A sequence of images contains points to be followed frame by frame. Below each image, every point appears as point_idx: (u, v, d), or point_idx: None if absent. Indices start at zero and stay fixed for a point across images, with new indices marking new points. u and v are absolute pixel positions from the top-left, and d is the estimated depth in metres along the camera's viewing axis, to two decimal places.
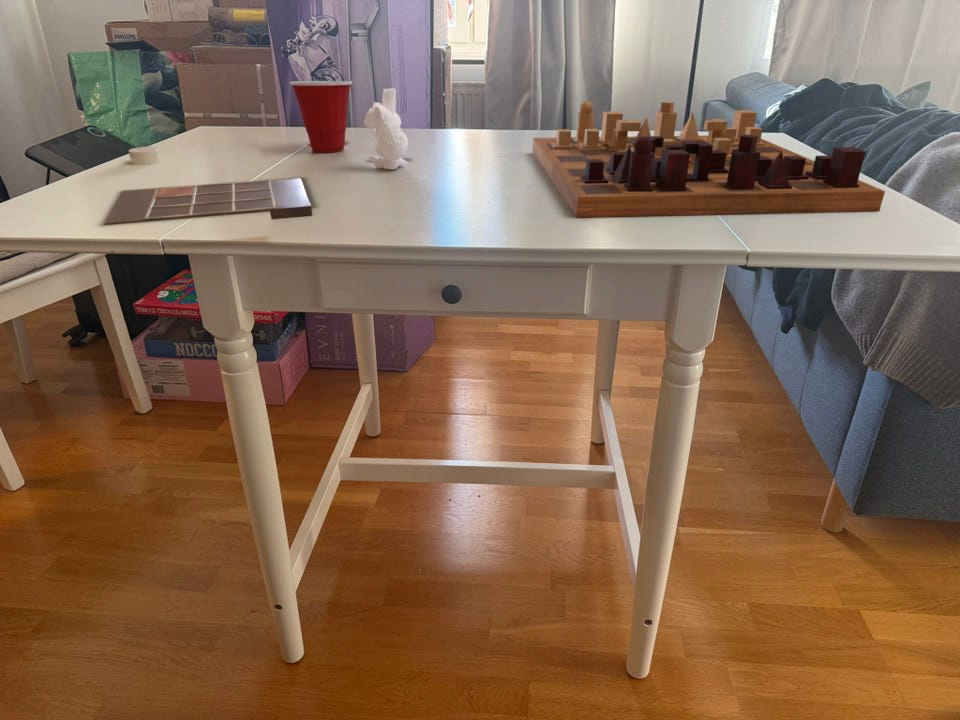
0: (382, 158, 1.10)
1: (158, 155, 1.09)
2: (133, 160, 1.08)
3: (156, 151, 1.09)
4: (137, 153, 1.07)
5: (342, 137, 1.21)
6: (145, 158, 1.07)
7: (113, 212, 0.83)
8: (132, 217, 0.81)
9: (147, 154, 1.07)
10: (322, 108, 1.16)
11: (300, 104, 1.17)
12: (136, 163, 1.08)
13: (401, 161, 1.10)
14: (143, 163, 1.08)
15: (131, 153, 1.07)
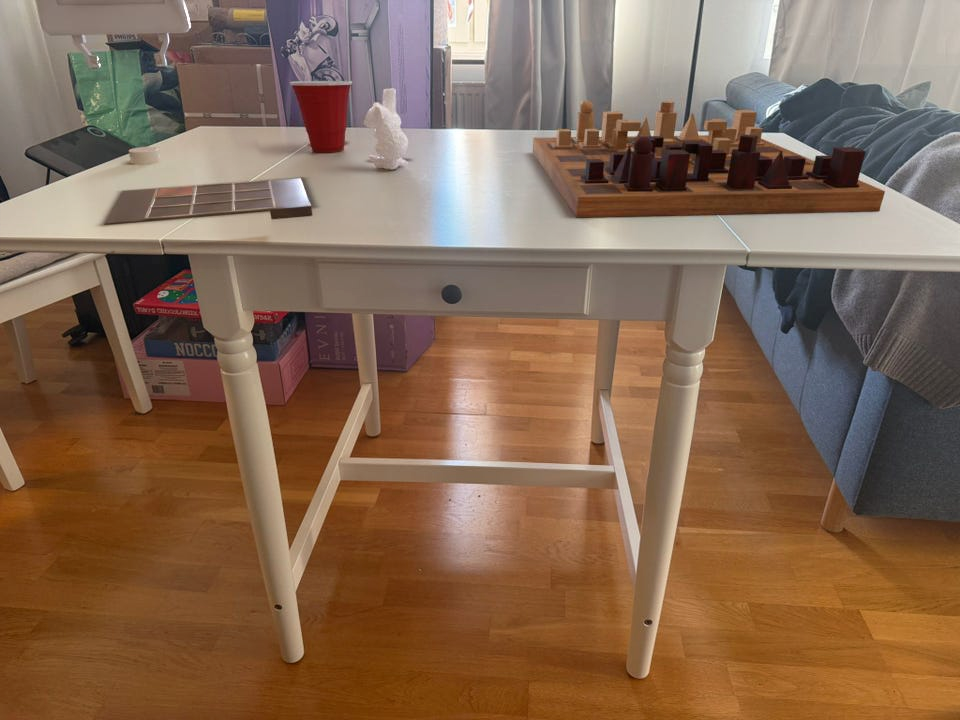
0: (382, 158, 1.10)
1: (158, 155, 1.09)
2: (133, 160, 1.08)
3: (156, 151, 1.09)
4: (137, 153, 1.07)
5: (342, 137, 1.21)
6: (145, 158, 1.07)
7: (113, 212, 0.83)
8: (132, 217, 0.81)
9: (147, 154, 1.07)
10: (322, 108, 1.16)
11: (300, 104, 1.17)
12: (136, 163, 1.08)
13: (401, 161, 1.10)
14: (143, 163, 1.08)
15: (131, 153, 1.07)
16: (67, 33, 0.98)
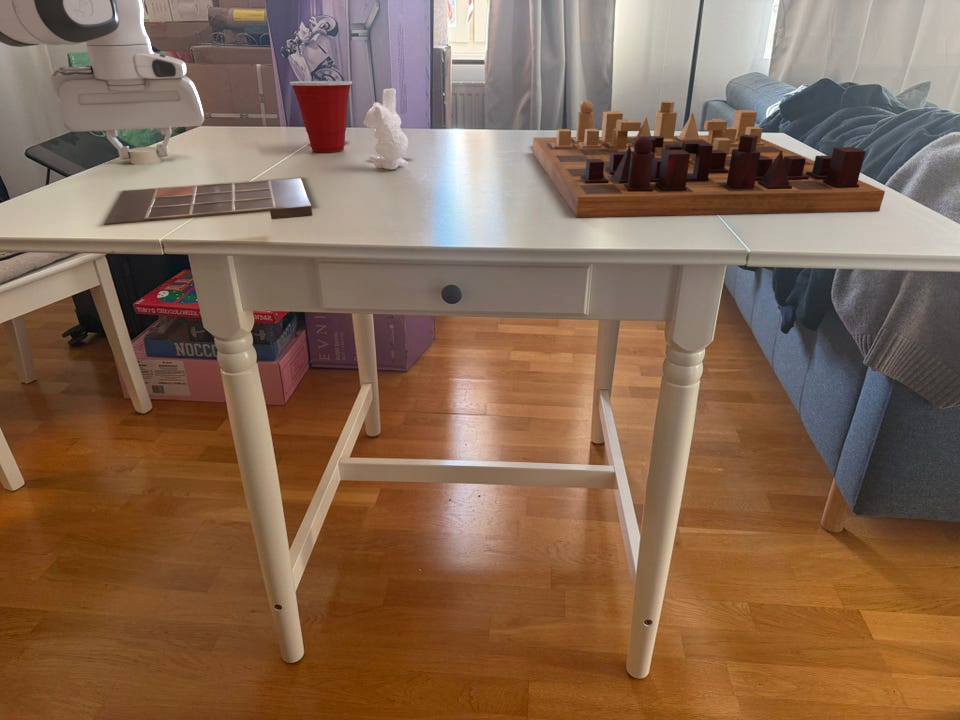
0: (382, 158, 1.10)
1: None
2: (133, 160, 1.08)
3: (156, 151, 1.09)
4: (137, 153, 1.07)
5: (342, 137, 1.21)
6: (145, 158, 1.08)
7: (113, 212, 0.83)
8: (132, 217, 0.81)
9: (147, 154, 1.07)
10: (322, 108, 1.16)
11: (300, 104, 1.17)
12: (136, 163, 1.08)
13: (401, 161, 1.10)
14: (143, 163, 1.08)
15: (131, 153, 1.07)
16: (88, 130, 1.04)
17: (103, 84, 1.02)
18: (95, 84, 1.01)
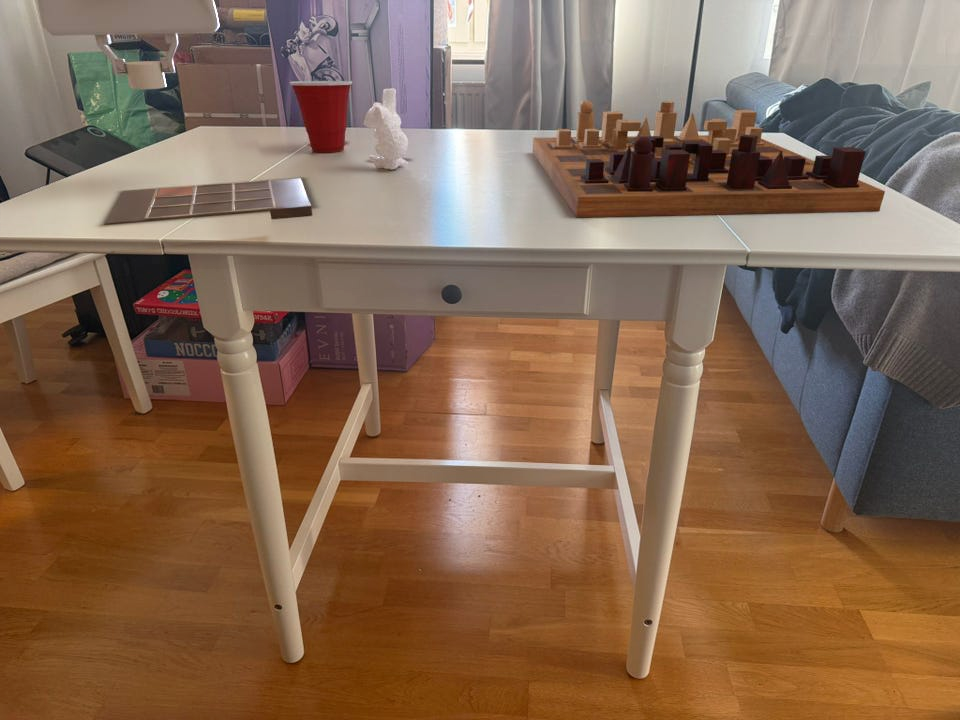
0: (382, 158, 1.10)
1: (161, 70, 0.88)
2: (130, 75, 0.86)
3: (159, 65, 0.87)
4: (135, 65, 0.85)
5: (342, 137, 1.21)
6: (145, 72, 0.86)
7: (113, 212, 0.83)
8: (132, 217, 0.81)
9: (148, 67, 0.86)
10: (322, 108, 1.16)
11: (300, 104, 1.17)
12: (134, 79, 0.86)
13: (401, 161, 1.10)
14: (143, 79, 0.86)
15: (128, 66, 0.86)
16: (73, 33, 0.82)
17: None
18: None
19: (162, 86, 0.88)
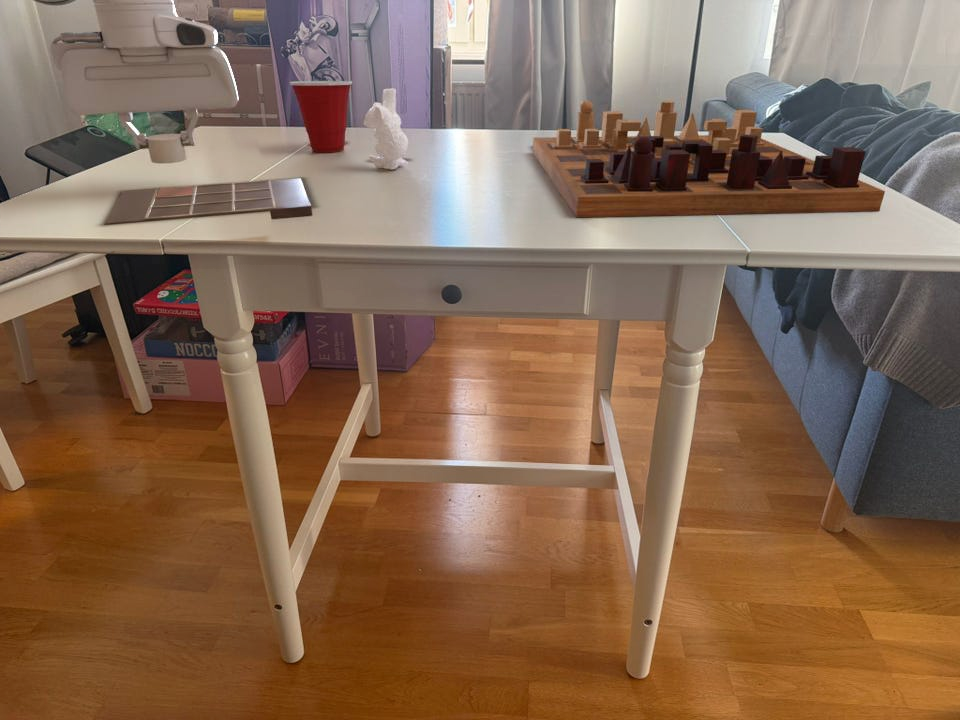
0: (382, 158, 1.10)
1: (182, 144, 0.89)
2: (152, 150, 0.88)
3: (180, 139, 0.88)
4: (157, 141, 0.87)
5: (342, 137, 1.21)
6: (166, 147, 0.87)
7: (113, 212, 0.83)
8: (132, 217, 0.81)
9: (169, 142, 0.87)
10: (322, 108, 1.16)
11: (300, 104, 1.17)
12: (155, 154, 0.88)
13: (401, 161, 1.10)
14: (164, 153, 0.87)
15: (149, 141, 0.87)
16: (97, 112, 0.83)
17: (115, 54, 0.81)
18: (105, 54, 0.81)
19: (182, 159, 0.89)
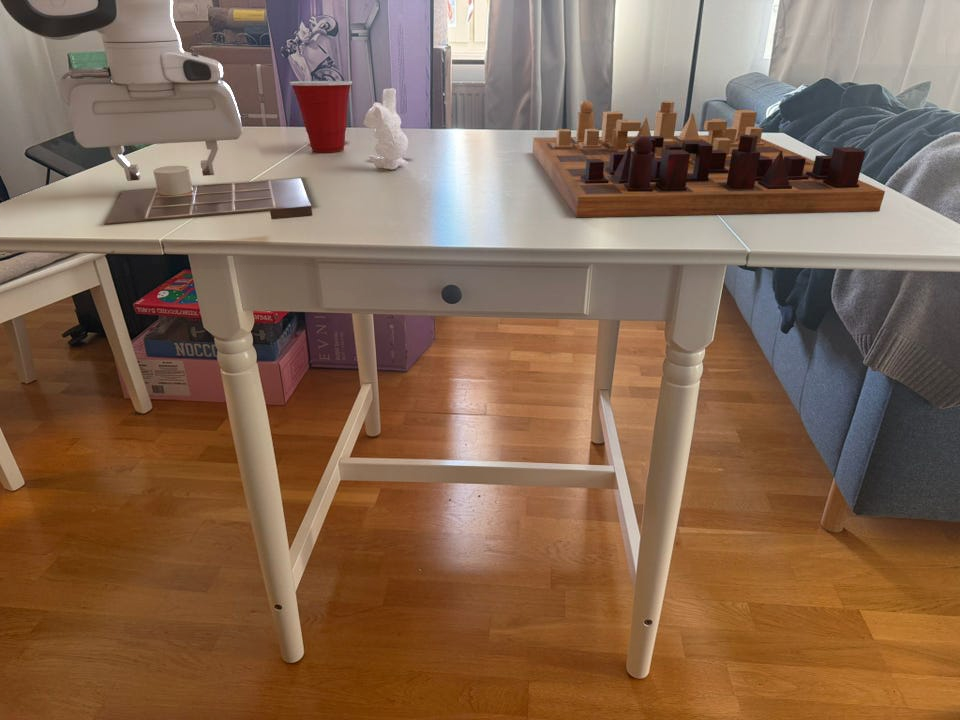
0: (382, 158, 1.10)
1: (188, 176, 0.91)
2: (159, 182, 0.90)
3: (187, 172, 0.90)
4: (164, 174, 0.89)
5: (342, 137, 1.21)
6: (173, 179, 0.89)
7: (113, 212, 0.83)
8: (132, 217, 0.81)
9: (176, 175, 0.89)
10: (322, 108, 1.16)
11: (300, 104, 1.17)
12: (162, 186, 0.90)
13: (401, 161, 1.10)
14: (171, 186, 0.89)
15: (156, 174, 0.89)
16: (104, 145, 0.85)
17: (123, 89, 0.83)
18: (113, 89, 0.83)
19: (189, 191, 0.91)
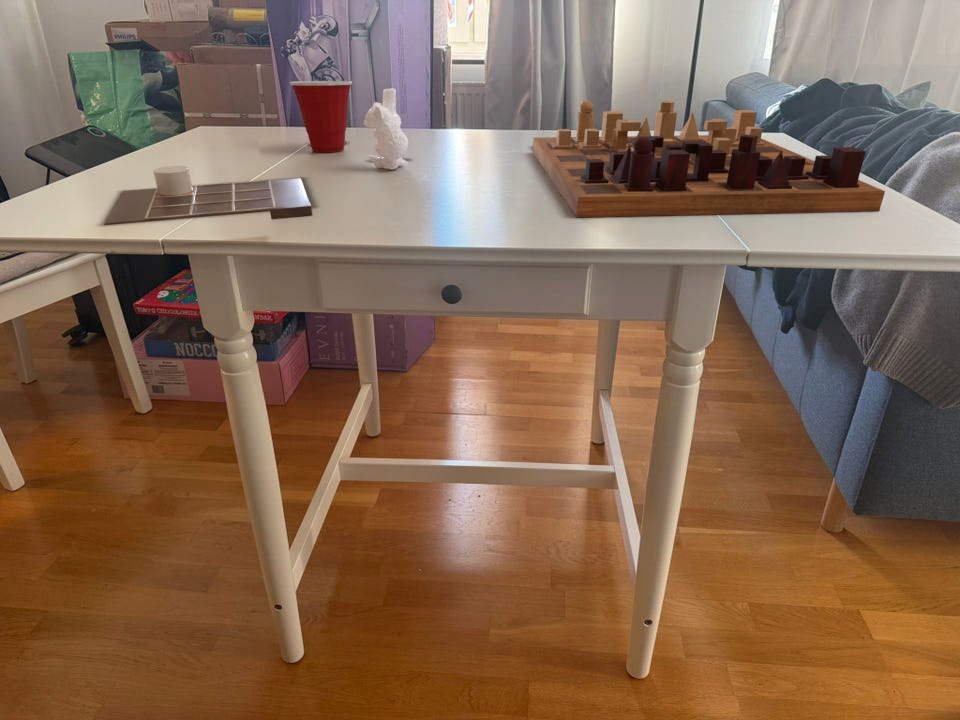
0: (382, 158, 1.10)
1: (188, 176, 0.91)
2: (159, 182, 0.90)
3: (187, 172, 0.90)
4: (164, 174, 0.89)
5: (342, 137, 1.21)
6: (173, 179, 0.89)
7: (113, 212, 0.83)
8: (132, 217, 0.81)
9: (176, 175, 0.89)
10: (322, 108, 1.16)
11: (300, 104, 1.17)
12: (162, 186, 0.90)
13: (401, 161, 1.10)
14: (171, 186, 0.89)
15: (156, 174, 0.89)
16: None
17: None
18: None
19: (189, 191, 0.91)
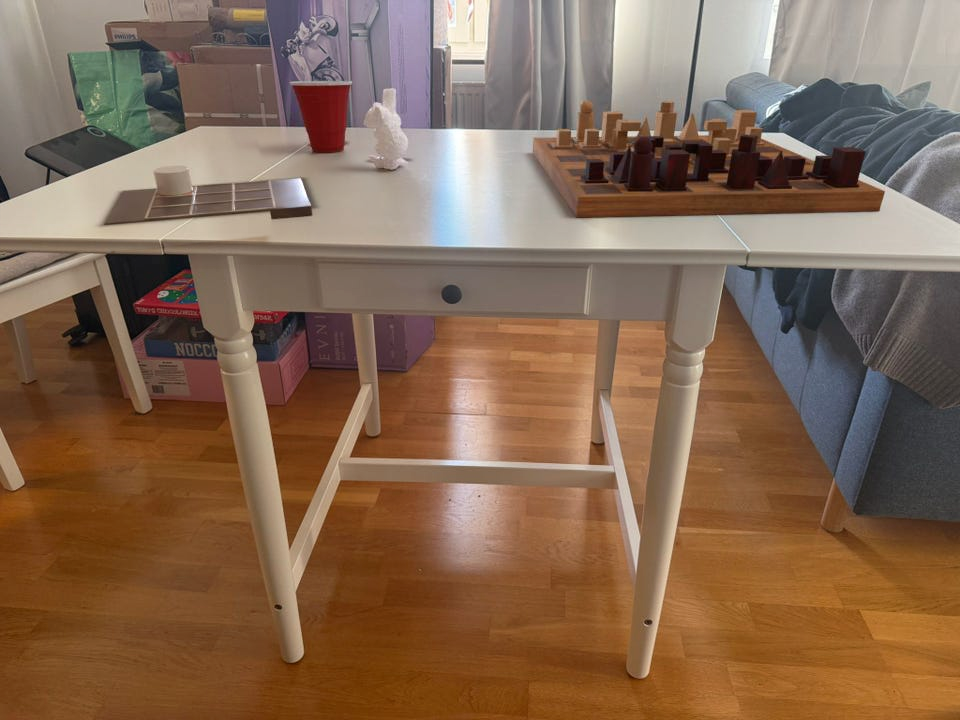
0: (382, 158, 1.10)
1: (188, 176, 0.91)
2: (159, 182, 0.90)
3: (187, 172, 0.90)
4: (164, 174, 0.89)
5: (342, 137, 1.21)
6: (173, 179, 0.89)
7: (113, 212, 0.83)
8: (132, 217, 0.81)
9: (176, 175, 0.89)
10: (322, 108, 1.16)
11: (300, 104, 1.17)
12: (162, 186, 0.90)
13: (401, 161, 1.10)
14: (171, 186, 0.89)
15: (156, 174, 0.89)
16: None
17: None
18: None
19: (189, 191, 0.91)
